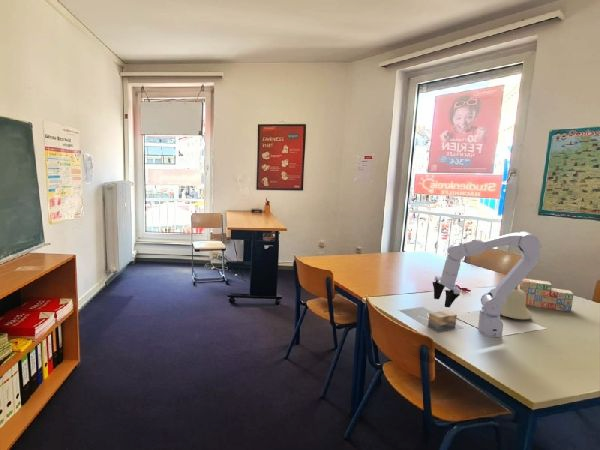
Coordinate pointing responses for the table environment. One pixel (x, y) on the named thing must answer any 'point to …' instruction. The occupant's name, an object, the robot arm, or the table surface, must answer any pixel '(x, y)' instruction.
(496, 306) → the robot arm
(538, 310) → the table surface
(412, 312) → the slate board
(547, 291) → the stack of blocks
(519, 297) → the handbell
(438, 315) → the felt eraser
